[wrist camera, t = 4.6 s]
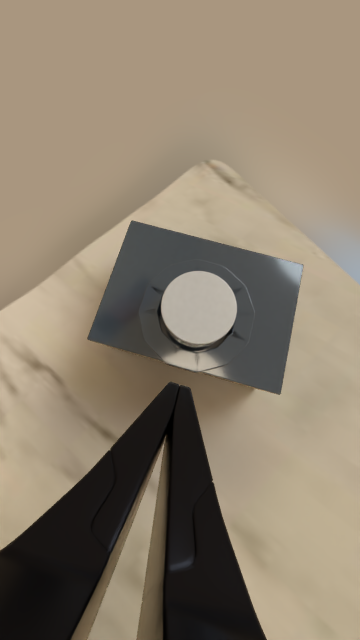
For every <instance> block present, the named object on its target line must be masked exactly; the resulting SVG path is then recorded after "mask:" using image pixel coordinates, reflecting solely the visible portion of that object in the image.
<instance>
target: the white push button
mask: <svg viewBox="0 0 360 640" xmlns="http://www.w3.org/2000/svg"><path fill="white" fill-rule="evenodd" d="M161 313H162V318H163V321H164V324H165V327H166V329H167V331H168V332H169V334H170V335H171V336H172V337H173V338H174V339H175V340H176V341H178V342H179V343H181V344H183V345H185V346H189V347H195V348H198V347H206V346H209V345H211V344H213V343H215V342H216V341H218V340H219V339H221V338H222V337H223V336H224V335H225V334H227V333H228V331H229V330H230V329H231V327H232V326H233V324H234V322H235V318H236V314H237V303H236V298H235V296H234V293H233V291H232V289H231V288H230V287H229V285H228V284H227V283H226V282H225V281H224V280H223V279H221V278H220V277H218V276H217V275H214V274H212V273H209V272H204V271H192V272H188V273H184V274H182V275H180V276H178V277H177V278H175V279H174V280H173V281H172V282H171V283H170V284H169V285H168V287H167V288H166V290H165V292H164V294H163V296H162V301H161Z"/></svg>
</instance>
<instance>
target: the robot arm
mask: <svg viewBox="0 0 360 640" xmlns="http://www.w3.org/2000/svg"><path fill="white" fill-rule="evenodd" d="M165 437H166V438H165ZM164 440H165V443H164ZM163 443H164V449H163V456H162V463H161V471H160V478H159V485H158V492H157V499H156V506H155V513H154V520H153V527H152V534H151V541H150V548H149V555H148V562H147V569H146V576H145V583H144V590H143V597H142V601H143V602H142V604H141V611H140V618H139V625H138V632H137V639H136V640H267V639H266V637H265V634H264V632H263V630H262V628H261V625H260V623H259V620H258V618H257V615H256V613H255V610H254V607H253V605H252V602H251V599H250V596H249V593H248V590H247V588H246V585H245V582H244V579H243V576H242V573H241V570H240V567H239V565H238V562H237V559H236V556H235V553H234V550H233V547H232V544H231V541H230V538H229V535H228V532H227V529H226V526H225V523H224V520H223V517H222V513H221V509H220V506H219V502H218V498H217V495H216V490H215V486H214V483H213V482H212V481H213V479H212V475H211V470H210V466H209V462H208V458H207V454H206V450H205V446H204V442H203V438H202V434H201V430H200V425H199V421H198V417H197V413H196V409H195V405H194V401H193V397H192V393H191V389H190V388H189V387H187V386H183V385H180V386H179V384H176V383H173V382H169V383H168V384H167V385H166V386H165V387H164V389H163V390H162V391H161V392H160V393H159V394H158V395H157V396H156V398H155V399H154V400H153V401H152V402H151V403H150V404H149V405H148V407H147V408H146V409H145V410H144V411H143V412H142V413H141V415H140V416H139V417H138V418H137V419H136V420H135V421H134V422H133V424H132V425H131V426H130V427H129V428H128V429H127V430H126V431H125V433H124V434H123V435H122V436H121V437H120V438H119V439H118V440H117V442H116V443H115V444H114V445H113V446H112V447H111V449H110V450H108V452H107V453H106V454H105V455H104V456H103V457H102V458H101V459H100V460H99V462H98V463H97V464H96V465H95V466H94V467H93V468H92V469H91V470H90V471H89V472H88V473H87V474H86V475H85V476H84V477H83V478H82V479H81V480H80V481H79V482H78V483H77V484H76V485H75V486H74V487H73V488H72V489H71V490H69V491H68V492H67V493H66V494H65V495H64V496H63V497H62V498H61V499H60V500H59V501H57V502H56V503H55V504H54V505H53V506H52V507H51V508H50V509H49V510H48V511H46V512H45V513H44V514H43V515H42V516H41V517H40V518H39V519H38V520H37V521H36V522H34V523H33V524H32V525H31V526H30V527H29V528H28V529H27V530H25V531H24V532H23V533H22V534H21V535H20V536H18V537H17V538H16V539H15V540H14V541H12V542H11V543H10V544H8V545H7V546H6V547H5V548H3V549H2V550H1V551H0V640H87V639H88V636H89V633H90V631H91V628H92V626H93V623H94V621H95V618H96V616H97V613H98V610H99V608H100V605H101V603H102V600H103V598H104V595H105V592H106V589H107V587H108V585H109V582H110V580H111V577H112V574H113V572H114V569H115V567H116V564H117V562H118V559H119V556H120V554H121V551H122V549H123V546H124V544H125V541H126V539H127V536H128V533H129V531H130V528H131V526H132V523H133V521H134V518H135V515H136V513H137V510H138V508H139V505H140V503H141V500H142V497H143V495H144V492H145V490H146V487H147V485H148V482H149V479H150V477H151V474H152V472H153V469H154V467H155V464H156V462H157V459H158V456H159V454H160V451H161V449H162V446H163Z"/></svg>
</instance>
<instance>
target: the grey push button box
mask: <svg viewBox="0 0 360 640" xmlns="http://www.w3.org/2000/svg"><path fill="white" fill-rule="evenodd" d="M192 271H204V272H209V273H212V274H214V275H217V276H218V277H220V278H221V279H223V280H224V281H225V282H226V283H227V284H228V285H229V287H230V288H231V289H232V291H233V293H234V296H235V298H236V303H237V314H236V318H235V322H234V324H233V326H232V327H231V329H230V330H229V331H228V333H227V334H225V335H224V336H223V337H222V338H221V339H219V340H218V341H216V342H215V343H213V344H211V345H209V346H206V347H198V348H195V347H189V346H185V345H183V344H181V343H179V342H178V341H176V340H175V339H174V338H173V337H172V336H171V335H170V334H169V332H168V331H167V329H166V327H165V324H164V321H163V318H162V313H161V301H162V296H163V294H164V292H165V290H166V288H167V287H168V285H169V284H170V283H171V282H172V281H173V280H174V279H175V278H177V277H178V276H180V275H182V274H184V273H188V272H192ZM302 271H303V264H299V263H295V262H291V261H287V260H283V259H280V258H276V257H272V256H268V255H264V254H260V253H256V252H252V251H249V250H245V249H241V248H237V247H233V246H229V245H225V244H221V243H218V242H214V241H210V240H206V239H202V238H198V237H194V236H190V235H187V234H183V233H179V232H175V231H171V230H167V229H163V228H159V227H156V226H152V225H148V224H144V223H140V222H136V221H131V223H130V225H129V228H128V231H127V233H126V236H125V239H124V241H123V244H122V247H121V249H120V252H119V255H118V258H117V260H116V263H115V266H114V268H113V271H112V274H111V276H110V279H109V282H108V284H107V287H106V290H105V293H104V295H103V298H102V301H101V303H100V306H99V309H98V311H97V314H96V317H95V320H94V322H93V325H92V328H91V330H90V333H89V336H88V340H90V341H93V342H96V343H99V344H102V345H105V346H108V347H111V348H115V349H118V350H122V351H125V352H129V353H132V354H135V355H139V356H142V357H146V358H149V359H153V360H156V361H160V362H163V363H165V364H167V365H169V366H173V367H176V368H180V369H183V370H187V371H190V372H194V373H202V374H205V375H209V376H212V377H215V378H219V379H222V380H226V381H229V382H233V383H236V384H240V385H243V386H247V387H250V388H254V389H257V390H262V391H266V392H270V393H274V394H278V395H280V394H281V389H282V383H283V377H284V372H285V366H286V361H287V355H288V349H289V344H290V338H291V333H292V327H293V321H294V316H295V310H296V305H297V299H298V293H299V288H300V282H301V276H302Z"/></svg>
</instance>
